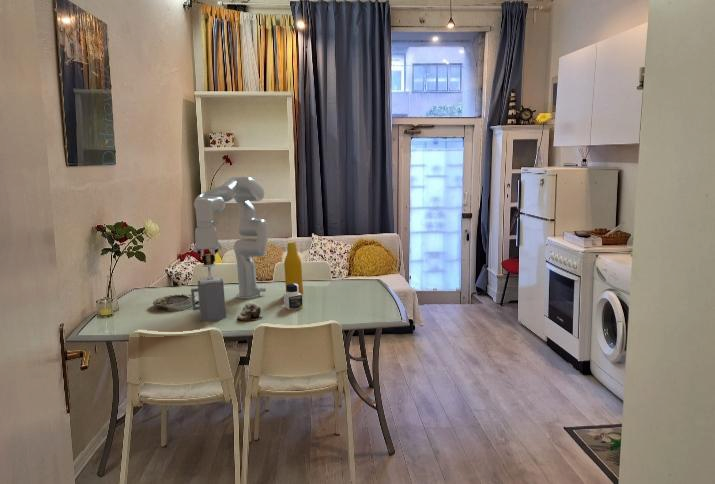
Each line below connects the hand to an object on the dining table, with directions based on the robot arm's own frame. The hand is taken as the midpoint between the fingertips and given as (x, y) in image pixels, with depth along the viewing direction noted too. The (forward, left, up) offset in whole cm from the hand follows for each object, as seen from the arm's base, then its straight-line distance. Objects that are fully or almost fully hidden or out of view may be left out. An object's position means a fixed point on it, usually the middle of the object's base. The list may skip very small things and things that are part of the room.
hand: (208, 263), depth 259 cm
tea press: (+2, 0, -27) cm, 27 cm away
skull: (-17, +7, -27) cm, 33 cm away
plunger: (0, 0, -19) cm, 19 cm away
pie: (+18, -30, -27) cm, 45 cm away
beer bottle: (-44, -25, -27) cm, 57 cm away
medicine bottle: (-39, -1, -27) cm, 47 cm away
